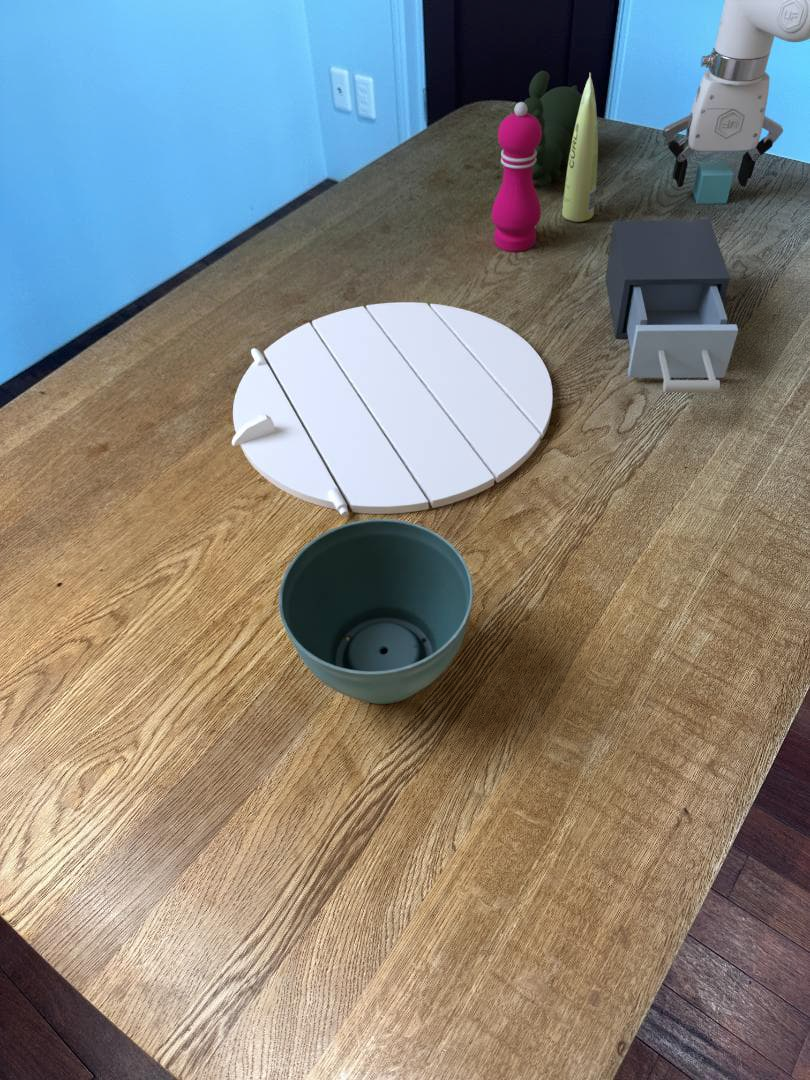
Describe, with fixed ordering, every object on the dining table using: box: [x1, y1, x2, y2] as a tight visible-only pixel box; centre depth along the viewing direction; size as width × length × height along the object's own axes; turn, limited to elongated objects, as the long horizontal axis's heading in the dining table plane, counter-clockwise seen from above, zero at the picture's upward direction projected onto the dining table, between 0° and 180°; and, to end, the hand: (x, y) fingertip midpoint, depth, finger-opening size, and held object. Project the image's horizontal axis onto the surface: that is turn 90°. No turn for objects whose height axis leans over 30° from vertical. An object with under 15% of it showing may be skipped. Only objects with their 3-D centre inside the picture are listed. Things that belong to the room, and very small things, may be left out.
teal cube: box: [691, 160, 734, 205], centre depth 128 cm, size 5×5×5 cm
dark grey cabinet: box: [605, 219, 731, 339], centre depth 107 cm, size 15×13×9 cm
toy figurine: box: [522, 70, 583, 188], centre depth 133 cm, size 9×19×25 cm
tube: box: [561, 71, 599, 223], centre depth 121 cm, size 6×5×20 cm
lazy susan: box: [231, 301, 554, 518], centre depth 99 cm, size 40×39×3 cm
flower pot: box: [278, 518, 474, 705], centre depth 71 cm, size 16×16×11 cm
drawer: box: [625, 284, 739, 394], centre depth 98 cm, size 21×11×7 cm, turn 176°
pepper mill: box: [491, 101, 542, 253], centre depth 116 cm, size 7×7×20 cm
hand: (710, 182), depth 128 cm, fingers open, 9 cm apart
